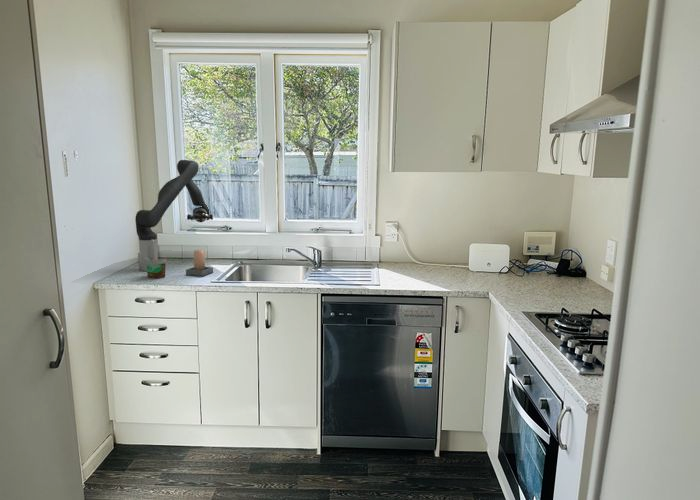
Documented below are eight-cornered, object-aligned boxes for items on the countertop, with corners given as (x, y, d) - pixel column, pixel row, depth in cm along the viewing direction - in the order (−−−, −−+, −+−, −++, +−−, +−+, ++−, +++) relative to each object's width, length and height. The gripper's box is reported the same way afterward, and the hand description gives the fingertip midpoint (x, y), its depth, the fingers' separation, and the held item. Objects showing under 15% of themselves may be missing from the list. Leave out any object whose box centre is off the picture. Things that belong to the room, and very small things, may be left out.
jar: (192, 272, 255) (191, 251, 253) (197, 270, 261) (197, 249, 259) (201, 273, 254) (201, 252, 252) (206, 271, 260) (206, 250, 258)
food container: (139, 277, 246) (138, 259, 244) (147, 275, 252) (146, 256, 250) (159, 280, 243) (158, 261, 241) (167, 277, 248) (166, 258, 246)
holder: (186, 275, 254) (185, 269, 254) (197, 271, 264) (197, 265, 263) (202, 276, 251) (202, 271, 251) (213, 272, 261) (213, 267, 260)
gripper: (188, 209, 283) (186, 212, 268) (212, 209, 287) (212, 212, 272) (188, 221, 285) (186, 225, 269) (213, 221, 288) (212, 224, 273)
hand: (199, 218), depth 271 cm, fingers open, 8 cm apart
